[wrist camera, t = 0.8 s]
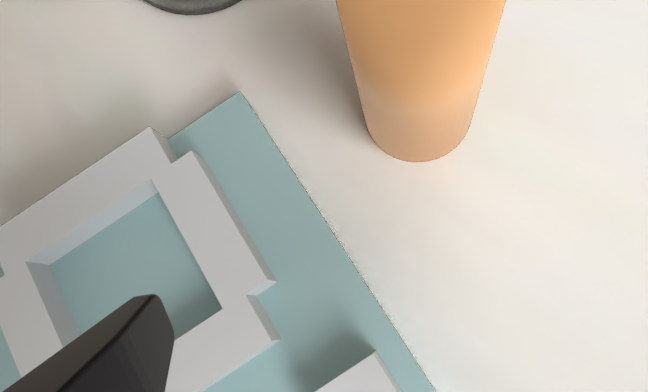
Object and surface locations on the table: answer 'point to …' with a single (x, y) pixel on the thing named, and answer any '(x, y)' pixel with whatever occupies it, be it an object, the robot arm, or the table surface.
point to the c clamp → (192, 6)
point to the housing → (200, 267)
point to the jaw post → (419, 69)
